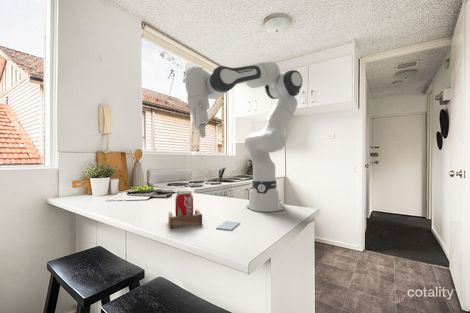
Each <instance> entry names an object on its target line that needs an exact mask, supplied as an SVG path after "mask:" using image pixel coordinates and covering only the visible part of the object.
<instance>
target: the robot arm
mask: <svg viewBox="0 0 470 313" xmlns="http://www.w3.org/2000/svg"><path fill="white" fill-rule="evenodd" d="M184 83H185V90H186V92H187V104H188V106H187V107H188V111H189V112H190V115H192V120H193V124H194V128H195V130H196V131H199V135H200V138H201V139H202V138H205V137H206V126H207V125H208V122H209V115H208V110H209V109H210V101H209V99H211V100H218V99H219V98H220V97H223V95H225V94H226V93H227V92H229V91H231V90H232V89H233V88H234V87H235V86H236V85H237V84H243V83H245V84H246V85H247V86H248V87H249V88H251V89H256V88H261V87H264V90H265V93H266V95H267V97H269V98H270V99H271V100H277V101H276V103H275V105H273V107H272V109H271V110H270V111H269V114H267V116H266V118H265V124H266V125H265V127H264V128H263V129H262V130H259V131H253V132H252V133H249V135H247V136H246V137H245V139H244V146H245V148H246V150H247V151H248V153H249V156H250V158H251V162H252V181H251V182H252V183H251V187H252V189H251V190H250V191H249V199H248V202H249V203H248V204H247V205H246V206H245V207H246V208H247V209H250V210H252V211H255V212H265V213H266V212H269V213H270V212H276V211H277V212H278V211H284V210H285V209H284V204H283V202H282V201H281V199H280V192H279V191H278V189H277V186H278V185H277V180H276V164H275V163H274V162H273V161H272V158H271V157H270V153H276V152H278V151H281V150H283V149H284V147H285V146H286V135H285V130H286V128H287V126H288V125H289V123H290V122H291V120H292V118H293V116H294V114H295V112H296V110H297V107H298V100H297V98H296V96H299V94H300V90H301V88H302V86H303V76H302V73H300V72H299V71H298V70H296V69H295V70H292V69H291V70H288V71H286V72H283V73H281V71H280V67H279V65H278V64H277V63H276V62H273V61H263V62H259V63H258V62H257V63H254V64H251V65H247V66H246V65H245V66H240V67H239V66H237V67H229V66H225V65H220V66H217V67H215V69H213V70H212V72H211V73H209V72H208V71H206V70H205V69H204V68H203V67H202V66H200V65H194V66H192V67H189V68H188V69H187V70H186V71H185V74H184Z"/></svg>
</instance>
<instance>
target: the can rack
mask: <svg viewBox="0 0 470 313" xmlns="http://www.w3.org/2000/svg"><path fill="white" fill-rule="evenodd" d="M168 224H169V228H170V229H178V228H179V229H180V228H187V227H196V226H197V227H198V226H203V214H202V212H201V211H200V210H199V208H198V209H197V208H196V209H194V214H193V215H185V216H176V215H175V216H174V215H173V212H172V211H168Z"/></svg>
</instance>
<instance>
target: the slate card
mask: <svg viewBox="0 0 470 313" xmlns="http://www.w3.org/2000/svg"><path fill="white" fill-rule="evenodd" d="M240 223H241V222H237V221H227V220H225V221H223V222H222V223H221V224H220V225H218V226H216V228H215V229H216V230H219V231H221V230H222V231H231V232H232V231H233V230H235V228H237V227H238V226H239V225H240Z"/></svg>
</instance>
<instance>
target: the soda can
mask: <svg viewBox="0 0 470 313" xmlns="http://www.w3.org/2000/svg"><path fill="white" fill-rule="evenodd" d="M193 196H194V195H193V194H192V191H187V190H186V191H177V192H176V196H175V201H174V202H175V207H174V208H175V209H174V210H175V216H185V215H194V197H193Z"/></svg>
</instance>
